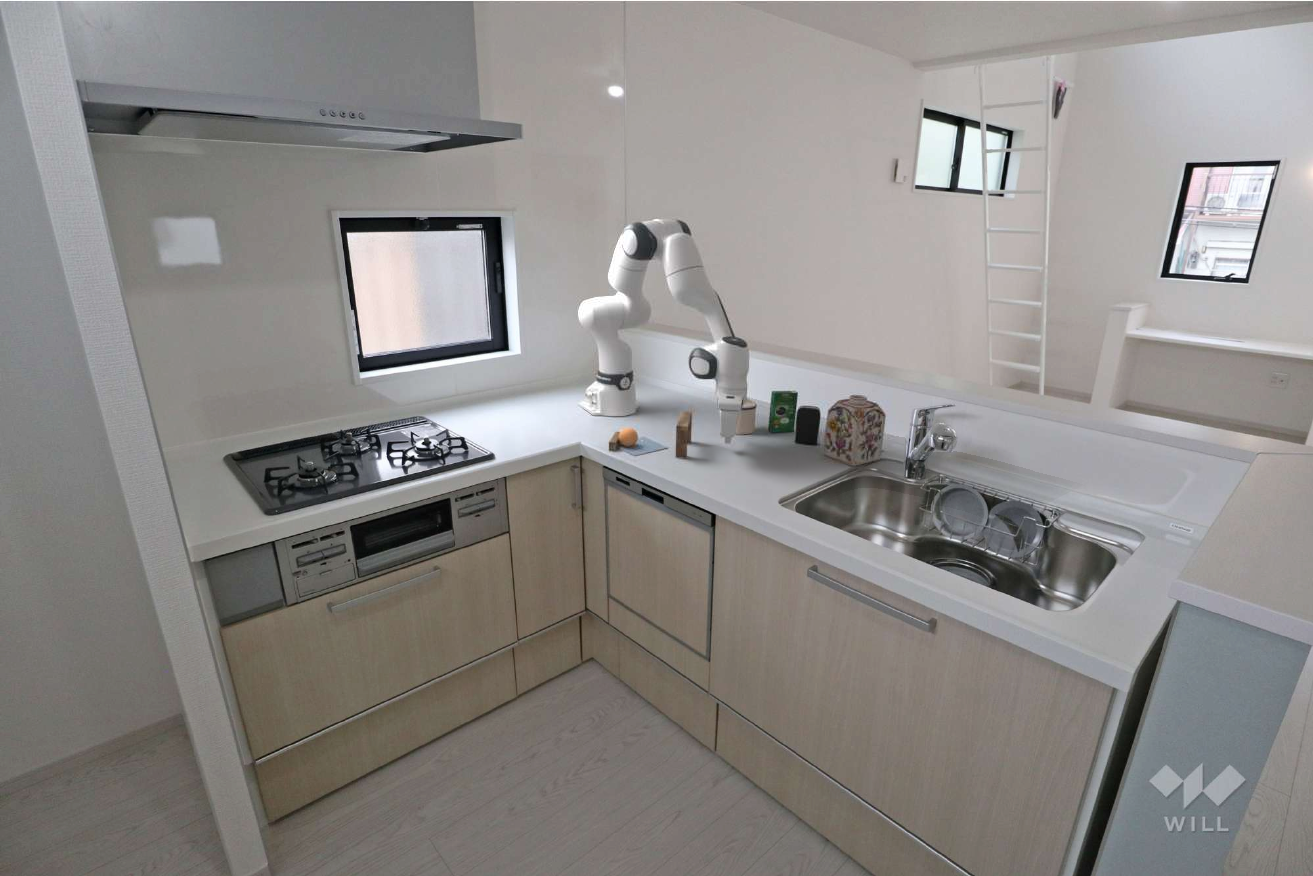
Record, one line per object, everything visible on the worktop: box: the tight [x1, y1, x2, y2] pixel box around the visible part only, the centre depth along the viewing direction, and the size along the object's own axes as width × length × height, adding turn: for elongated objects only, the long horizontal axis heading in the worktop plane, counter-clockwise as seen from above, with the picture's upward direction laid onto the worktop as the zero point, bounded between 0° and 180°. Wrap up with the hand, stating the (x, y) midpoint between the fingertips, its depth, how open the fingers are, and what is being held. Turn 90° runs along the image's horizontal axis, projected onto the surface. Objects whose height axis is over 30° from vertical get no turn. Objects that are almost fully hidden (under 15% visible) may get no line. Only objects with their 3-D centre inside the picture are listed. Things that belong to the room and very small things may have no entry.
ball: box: [619, 427, 639, 447], centre depth 197 cm, size 6×6×6 cm
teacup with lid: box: [718, 397, 758, 436], centre depth 212 cm, size 12×9×12 cm
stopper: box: [608, 431, 621, 452], centre depth 198 cm, size 2×10×2 cm, turn 172°
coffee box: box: [767, 390, 799, 434], centre depth 212 cm, size 8×3×13 cm, turn 102°
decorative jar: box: [823, 394, 887, 467], centre depth 189 cm, size 12×12×18 cm
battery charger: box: [794, 405, 821, 446], centre depth 202 cm, size 7×4×11 cm, turn 75°
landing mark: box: [617, 436, 669, 457], centre depth 198 cm, size 12×12×1 cm
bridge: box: [675, 410, 693, 459], centre depth 195 cm, size 3×15×9 cm, turn 172°
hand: (727, 442), depth 194 cm, fingers closed
